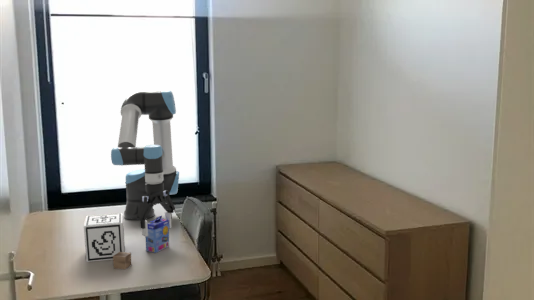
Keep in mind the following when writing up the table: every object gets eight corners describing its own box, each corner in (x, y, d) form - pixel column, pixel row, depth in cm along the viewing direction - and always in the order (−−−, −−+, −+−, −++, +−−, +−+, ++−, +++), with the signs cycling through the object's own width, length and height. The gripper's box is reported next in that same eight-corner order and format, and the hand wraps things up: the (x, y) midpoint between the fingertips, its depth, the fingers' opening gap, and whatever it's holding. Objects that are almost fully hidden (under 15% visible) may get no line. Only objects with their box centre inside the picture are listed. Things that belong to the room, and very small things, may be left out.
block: (86, 262, 235) (83, 226, 233) (88, 249, 250) (86, 215, 247) (124, 258, 239) (122, 222, 236) (124, 246, 253) (122, 212, 250)
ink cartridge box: (155, 253, 243) (154, 219, 241) (145, 251, 246) (143, 218, 243) (170, 246, 252) (168, 213, 250) (160, 244, 255) (158, 212, 252)
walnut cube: (120, 263, 233) (119, 251, 232) (131, 264, 231) (130, 252, 231) (113, 268, 228) (112, 256, 227) (125, 269, 227) (124, 257, 226)
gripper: (138, 189, 232) (141, 240, 235) (181, 177, 252) (184, 225, 255) (125, 187, 236) (128, 237, 240) (169, 175, 256) (171, 222, 260)
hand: (157, 231), depth 247 cm, fingers open, 13 cm apart
